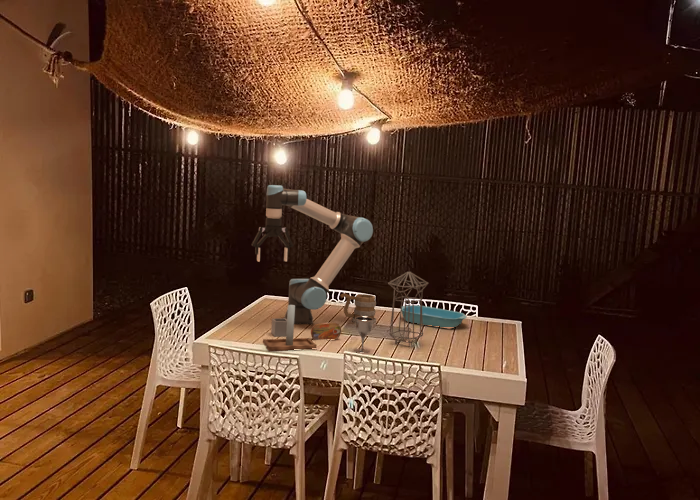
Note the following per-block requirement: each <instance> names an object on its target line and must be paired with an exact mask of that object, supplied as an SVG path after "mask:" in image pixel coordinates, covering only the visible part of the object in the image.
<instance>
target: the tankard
mask: <svg viewBox="0 0 700 500" xmlns="http://www.w3.org/2000/svg"><path fill="white" fill-rule="evenodd" d="M340 298H341V299H343V298H346V299H345V300H346V301H345V305H344V306H343V314H344V315H345V318H350V319H351V318H352V320H351V321H353V323H355V319H356V317H359V316H365V317H371V318H373V325H374V324H376V323H377V318H376V317H375V316H376V314H377V312H376V309H375V307H376V305H377V300H376V296H375V295H372V294H364V293H362V294H356V295H355V296H354V295H353V296H352V295H350V294H347V293H345V292H343V293H342V294H340ZM351 300H353V303H354V306H355V307H354V309H353V313H350V312H349V311H348V310H349V307H350V305H351Z"/></svg>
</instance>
